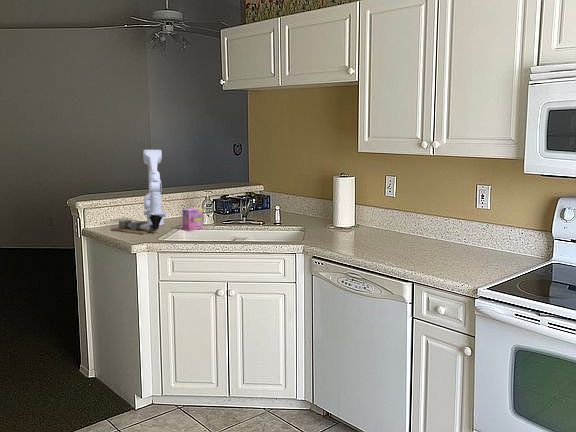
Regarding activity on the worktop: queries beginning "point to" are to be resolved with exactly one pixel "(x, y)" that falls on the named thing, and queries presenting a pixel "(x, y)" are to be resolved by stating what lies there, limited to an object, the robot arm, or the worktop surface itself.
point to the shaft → (143, 226)
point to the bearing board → (131, 227)
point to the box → (192, 219)
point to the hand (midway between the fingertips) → (156, 229)
